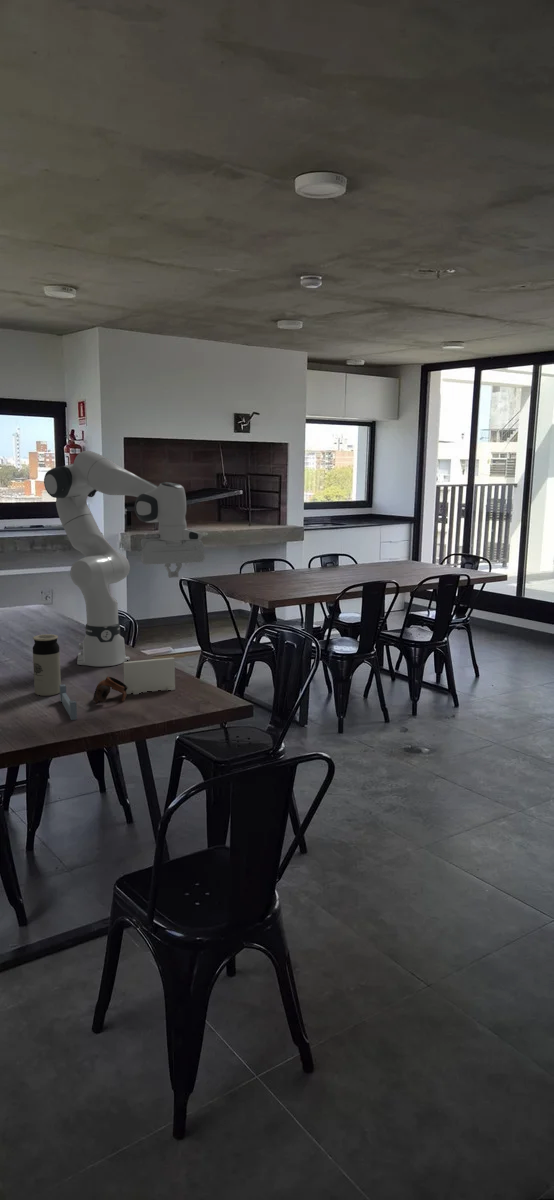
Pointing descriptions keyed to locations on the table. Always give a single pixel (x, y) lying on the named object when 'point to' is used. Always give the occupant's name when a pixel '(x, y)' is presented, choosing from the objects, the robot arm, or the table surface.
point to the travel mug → (46, 665)
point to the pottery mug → (104, 689)
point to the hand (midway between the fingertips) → (173, 577)
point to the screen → (149, 675)
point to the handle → (68, 703)
